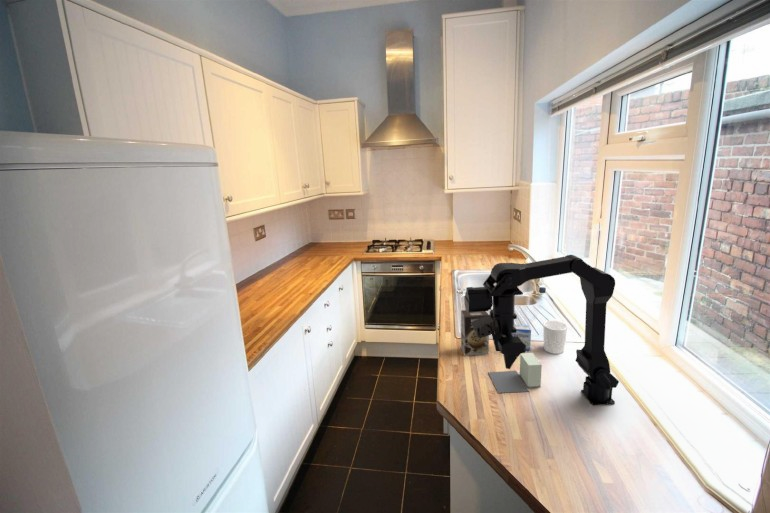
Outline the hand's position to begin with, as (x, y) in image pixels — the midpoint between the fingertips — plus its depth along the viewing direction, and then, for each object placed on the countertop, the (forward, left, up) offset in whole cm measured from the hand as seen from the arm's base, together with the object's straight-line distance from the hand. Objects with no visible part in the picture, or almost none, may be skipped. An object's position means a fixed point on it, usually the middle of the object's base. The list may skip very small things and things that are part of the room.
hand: (502, 359), depth 101 cm
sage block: (-12, -10, -15) cm, 22 cm away
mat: (-5, -10, -15) cm, 18 cm away
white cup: (-28, -28, -15) cm, 42 cm away
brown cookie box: (+1, -30, -15) cm, 33 cm away
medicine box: (-16, -31, -15) cm, 38 cm away
